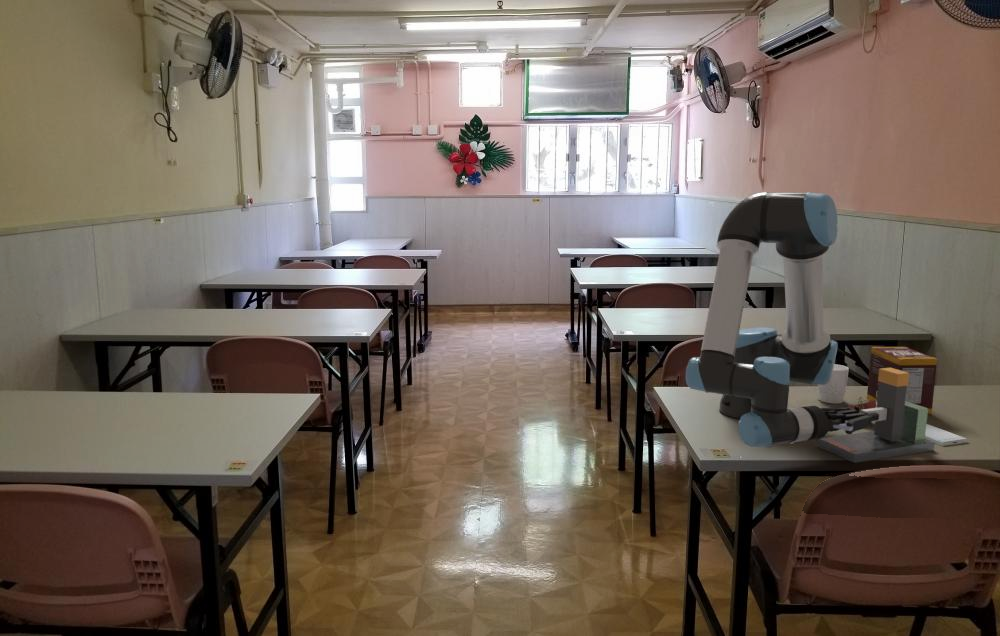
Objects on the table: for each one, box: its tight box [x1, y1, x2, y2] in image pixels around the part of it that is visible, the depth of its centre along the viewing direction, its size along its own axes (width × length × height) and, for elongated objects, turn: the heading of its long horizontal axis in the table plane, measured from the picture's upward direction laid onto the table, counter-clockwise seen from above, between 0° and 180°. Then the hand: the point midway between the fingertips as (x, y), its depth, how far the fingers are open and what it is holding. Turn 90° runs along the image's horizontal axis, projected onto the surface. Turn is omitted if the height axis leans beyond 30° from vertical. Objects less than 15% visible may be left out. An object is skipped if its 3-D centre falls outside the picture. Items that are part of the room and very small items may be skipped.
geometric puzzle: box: [848, 396, 877, 411], centre depth 195 cm, size 7×7×8 cm
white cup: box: [817, 363, 850, 405], centre depth 214 cm, size 8×8×10 cm
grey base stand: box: [817, 401, 936, 464], centre depth 176 cm, size 24×11×10 cm, turn 110°
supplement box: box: [866, 346, 938, 415], centre depth 209 cm, size 10×15×16 cm
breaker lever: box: [873, 368, 909, 441], centre depth 176 cm, size 3×5×16 cm, turn 20°
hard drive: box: [925, 423, 969, 447], centre depth 186 cm, size 2×8×12 cm
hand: (884, 413), depth 175 cm, fingers closed
